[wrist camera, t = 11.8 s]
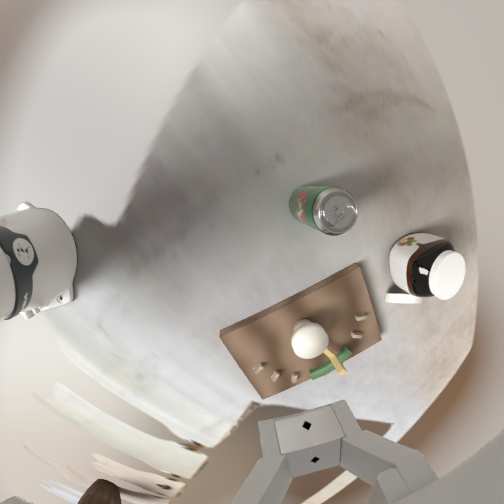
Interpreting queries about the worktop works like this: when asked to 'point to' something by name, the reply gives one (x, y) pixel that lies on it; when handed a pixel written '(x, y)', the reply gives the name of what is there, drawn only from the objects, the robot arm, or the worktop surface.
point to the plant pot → (101, 493)
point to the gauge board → (281, 329)
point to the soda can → (324, 208)
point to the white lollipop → (313, 343)
